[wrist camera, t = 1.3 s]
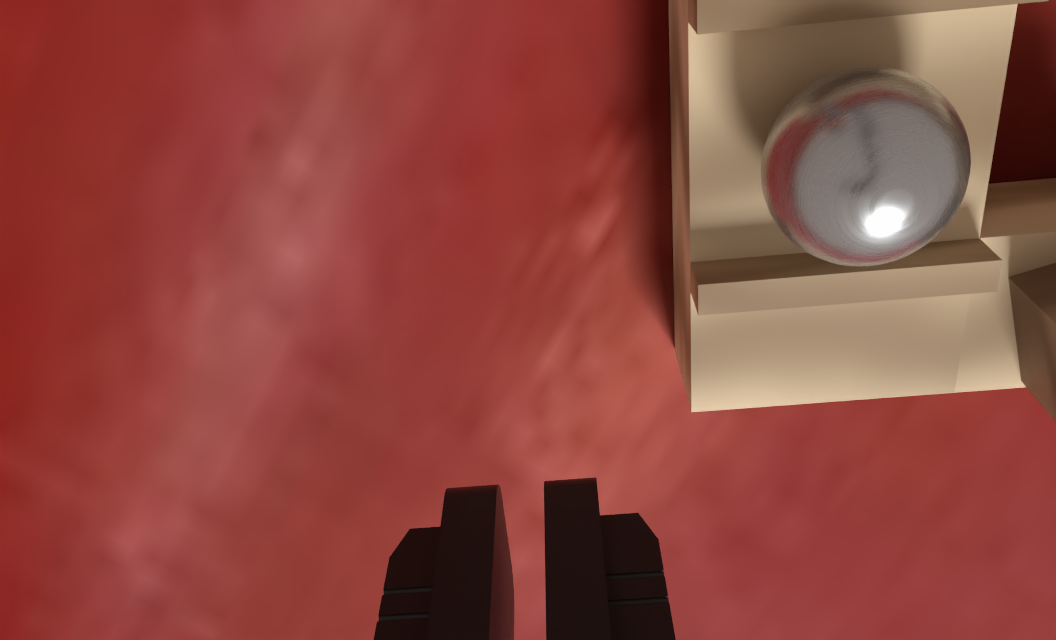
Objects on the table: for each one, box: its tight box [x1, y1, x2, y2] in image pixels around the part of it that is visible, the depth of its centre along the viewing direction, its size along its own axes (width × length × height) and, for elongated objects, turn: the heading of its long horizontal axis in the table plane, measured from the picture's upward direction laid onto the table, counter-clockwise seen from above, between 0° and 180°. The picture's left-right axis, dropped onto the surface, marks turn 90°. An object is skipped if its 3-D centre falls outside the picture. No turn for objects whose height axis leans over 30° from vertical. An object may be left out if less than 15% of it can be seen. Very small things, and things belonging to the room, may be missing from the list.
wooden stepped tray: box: [668, 0, 1056, 412], centre depth 25 cm, size 18×18×7 cm
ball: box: [761, 66, 971, 266], centre depth 23 cm, size 5×5×5 cm
